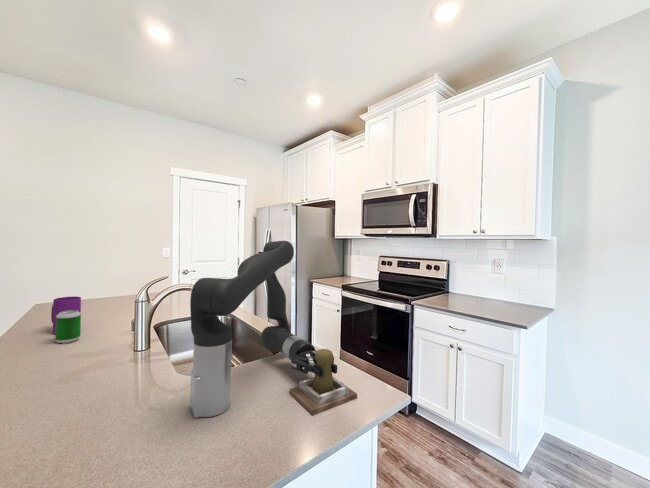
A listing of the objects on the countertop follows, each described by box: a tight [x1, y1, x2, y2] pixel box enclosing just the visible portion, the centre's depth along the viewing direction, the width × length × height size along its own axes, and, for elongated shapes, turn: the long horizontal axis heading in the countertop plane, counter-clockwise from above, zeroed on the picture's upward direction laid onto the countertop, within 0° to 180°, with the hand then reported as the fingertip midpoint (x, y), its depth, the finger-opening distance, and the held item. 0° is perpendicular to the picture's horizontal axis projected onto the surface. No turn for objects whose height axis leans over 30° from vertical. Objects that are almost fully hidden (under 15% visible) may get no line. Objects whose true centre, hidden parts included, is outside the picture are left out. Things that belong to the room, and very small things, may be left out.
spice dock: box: [288, 376, 358, 416], centre depth 81 cm, size 15×12×3 cm
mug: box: [50, 296, 82, 335], centre depth 128 cm, size 9×16×15 cm, turn 68°
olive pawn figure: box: [313, 348, 334, 395], centre depth 81 cm, size 6×6×11 cm
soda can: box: [55, 310, 82, 344], centre depth 116 cm, size 8×8×12 cm
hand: (329, 371), depth 78 cm, fingers closed on olive pawn figure, 4 cm apart
